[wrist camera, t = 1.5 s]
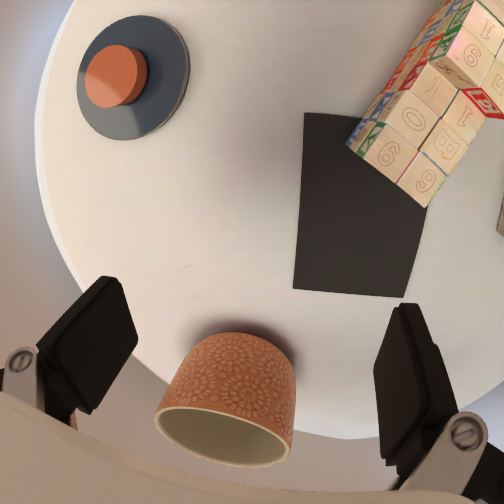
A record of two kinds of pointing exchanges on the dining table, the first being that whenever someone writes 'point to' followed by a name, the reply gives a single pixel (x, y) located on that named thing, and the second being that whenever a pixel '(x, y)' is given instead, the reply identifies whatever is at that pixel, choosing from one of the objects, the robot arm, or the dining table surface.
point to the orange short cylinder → (115, 76)
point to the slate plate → (156, 85)
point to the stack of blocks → (437, 98)
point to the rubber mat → (351, 218)
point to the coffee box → (501, 222)
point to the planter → (231, 402)
